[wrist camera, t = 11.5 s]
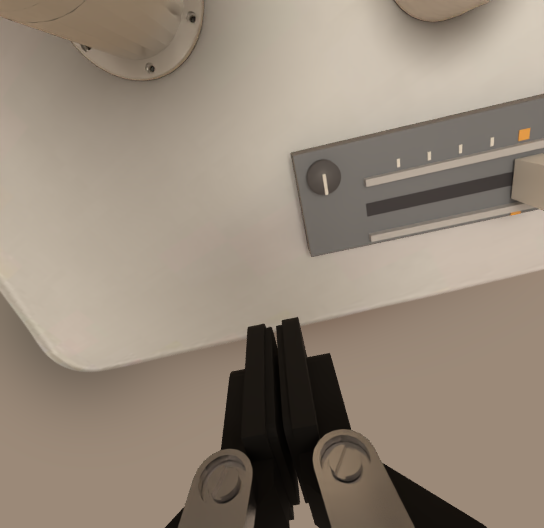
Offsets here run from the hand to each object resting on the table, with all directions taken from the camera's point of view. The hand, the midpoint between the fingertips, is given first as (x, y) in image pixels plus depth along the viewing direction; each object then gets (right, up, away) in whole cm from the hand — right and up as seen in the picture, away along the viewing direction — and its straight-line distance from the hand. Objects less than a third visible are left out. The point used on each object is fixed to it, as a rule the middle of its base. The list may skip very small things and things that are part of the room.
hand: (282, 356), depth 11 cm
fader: (+25, +12, +22) cm, 35 cm away
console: (+18, +13, +24) cm, 33 cm away
